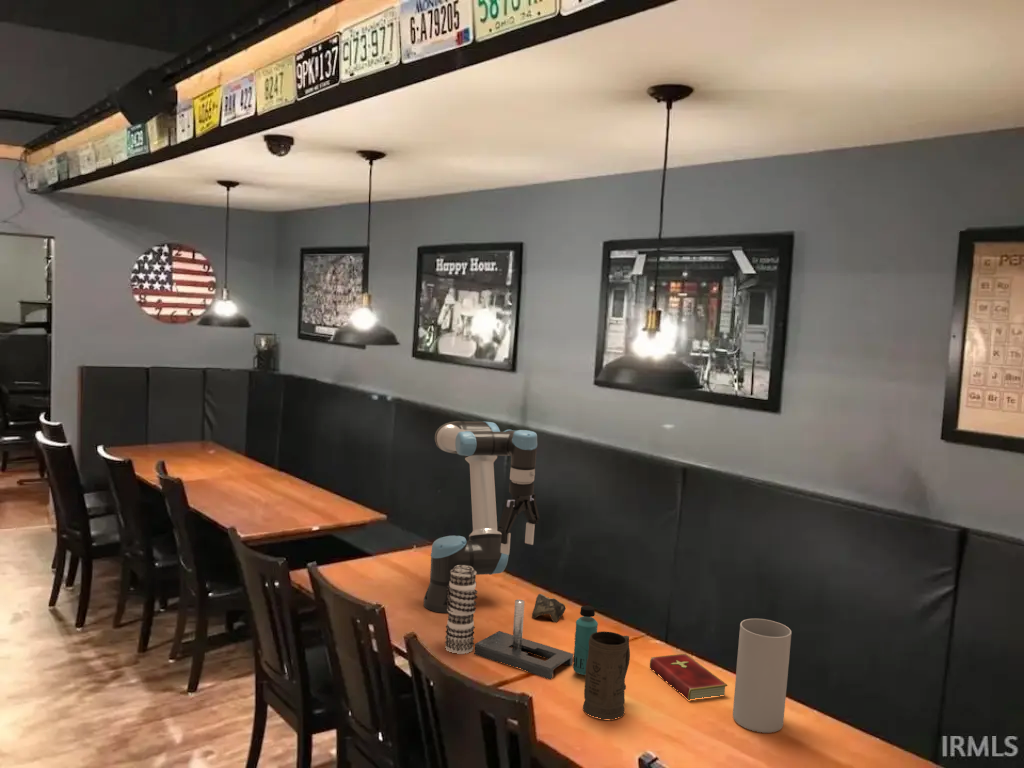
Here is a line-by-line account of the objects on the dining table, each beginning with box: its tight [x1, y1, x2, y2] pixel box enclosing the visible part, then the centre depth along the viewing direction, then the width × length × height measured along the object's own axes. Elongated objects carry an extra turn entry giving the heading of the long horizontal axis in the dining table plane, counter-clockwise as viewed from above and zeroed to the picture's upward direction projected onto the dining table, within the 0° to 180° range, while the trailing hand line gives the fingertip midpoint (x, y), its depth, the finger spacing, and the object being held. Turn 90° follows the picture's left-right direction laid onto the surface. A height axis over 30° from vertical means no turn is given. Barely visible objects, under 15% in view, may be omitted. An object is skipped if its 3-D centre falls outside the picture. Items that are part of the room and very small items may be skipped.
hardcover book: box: [649, 653, 728, 701], centre depth 231 cm, size 12×21×4 cm, turn 20°
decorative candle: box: [444, 565, 479, 655], centre depth 245 cm, size 9×9×25 cm
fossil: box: [531, 593, 566, 623], centre depth 275 cm, size 11×9×10 cm
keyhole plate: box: [473, 630, 574, 680], centre depth 241 cm, size 26×13×3 cm, turn 57°
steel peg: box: [511, 599, 525, 652], centre depth 241 cm, size 5×5×17 cm
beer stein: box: [582, 631, 631, 719], centre depth 213 cm, size 15×11×20 cm
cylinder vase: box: [732, 618, 792, 734], centre depth 210 cm, size 12×12×25 cm
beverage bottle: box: [572, 604, 599, 676], centre depth 231 cm, size 6×7×20 cm
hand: (517, 548), depth 253 cm, fingers open, 13 cm apart
